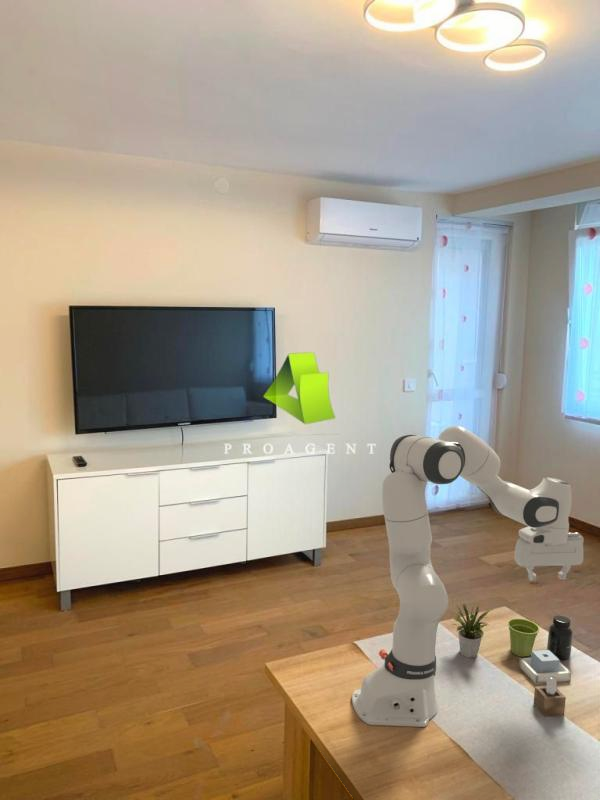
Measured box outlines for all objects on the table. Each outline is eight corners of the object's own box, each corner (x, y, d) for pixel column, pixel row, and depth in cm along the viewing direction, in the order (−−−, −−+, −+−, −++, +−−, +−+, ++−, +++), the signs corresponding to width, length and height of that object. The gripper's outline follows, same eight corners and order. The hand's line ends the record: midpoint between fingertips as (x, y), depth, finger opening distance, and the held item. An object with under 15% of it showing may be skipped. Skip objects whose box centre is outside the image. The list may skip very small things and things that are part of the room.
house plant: (433, 654, 193) (436, 603, 191) (450, 636, 205) (453, 588, 203) (479, 670, 185) (483, 617, 183) (494, 650, 197) (498, 600, 195)
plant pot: (540, 650, 198) (542, 623, 197) (533, 663, 190) (535, 636, 189) (509, 641, 203) (511, 615, 202) (501, 653, 195) (504, 627, 194)
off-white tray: (535, 683, 179) (536, 675, 179) (518, 666, 188) (519, 658, 188) (570, 680, 182) (571, 672, 181) (552, 663, 190) (553, 655, 190)
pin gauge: (547, 712, 166) (550, 681, 165) (542, 707, 169) (545, 675, 167) (555, 712, 167) (558, 680, 165) (550, 706, 169) (553, 675, 168)
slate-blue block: (540, 677, 182) (542, 661, 181) (530, 666, 187) (531, 651, 186) (558, 676, 183) (559, 659, 182) (547, 665, 188) (548, 649, 187)
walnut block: (544, 716, 165) (546, 699, 164) (533, 704, 170) (535, 686, 169) (564, 715, 166) (565, 697, 165) (552, 702, 171) (553, 685, 170)
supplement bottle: (572, 663, 191) (576, 625, 189) (548, 660, 192) (552, 622, 191) (567, 651, 198) (571, 615, 196) (544, 648, 199) (548, 612, 197)
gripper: (577, 528, 187) (572, 573, 189) (513, 530, 183) (509, 575, 185) (590, 536, 181) (585, 582, 183) (525, 537, 177) (520, 584, 179)
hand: (546, 579), depth 184 cm, fingers open, 8 cm apart
